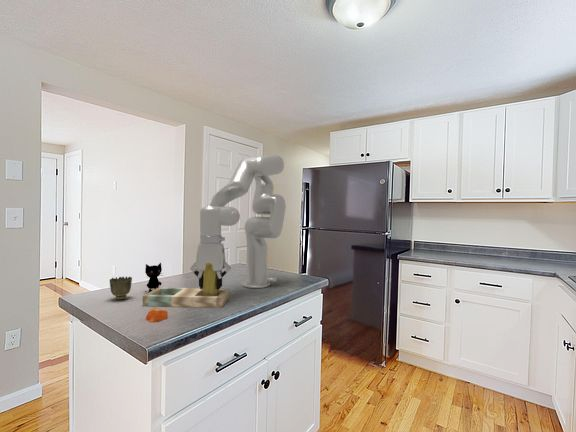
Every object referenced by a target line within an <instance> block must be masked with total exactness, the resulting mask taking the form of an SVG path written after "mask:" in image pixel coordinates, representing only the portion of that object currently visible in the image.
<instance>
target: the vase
mask: <svg viewBox="0 0 576 432" xmlns="http://www.w3.org/2000/svg"><path fill="white" fill-rule="evenodd" d="M217 279H218V275H217V272H216V271H213V265H212V264H211V263H206V268H205V271H203V295H202V296H218V290H217Z"/></svg>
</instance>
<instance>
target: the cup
mask: <svg viewBox="0 0 576 432" xmlns="http://www.w3.org/2000/svg"><path fill="white" fill-rule="evenodd" d="M132 282H133V277H132V276H119V277H112V278H110V279H109V287H110V293H111V295H113V296H114V299H115V300H116V301H124V300H125V299H127V295H128V294H129V293H130V291H131V287H132Z"/></svg>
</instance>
